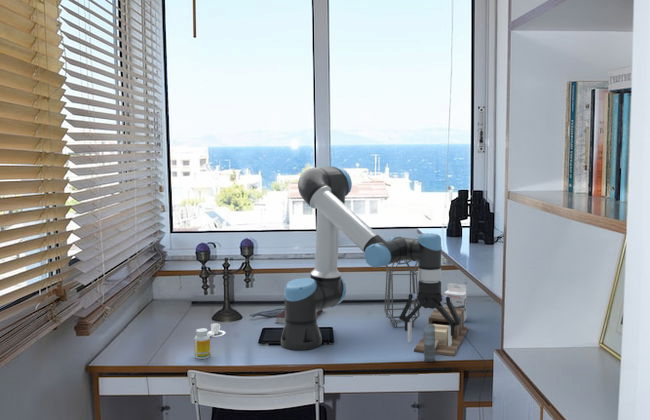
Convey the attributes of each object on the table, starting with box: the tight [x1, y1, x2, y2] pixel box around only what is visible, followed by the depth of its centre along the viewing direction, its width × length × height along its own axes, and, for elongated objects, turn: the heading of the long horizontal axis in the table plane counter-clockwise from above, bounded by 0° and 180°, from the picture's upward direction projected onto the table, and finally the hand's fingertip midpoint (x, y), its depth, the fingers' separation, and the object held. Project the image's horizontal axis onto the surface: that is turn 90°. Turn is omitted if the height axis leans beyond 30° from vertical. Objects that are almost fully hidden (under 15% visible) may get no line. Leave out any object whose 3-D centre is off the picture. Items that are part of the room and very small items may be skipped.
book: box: [275, 309, 324, 325], centre depth 257 cm, size 14×22×4 cm, turn 162°
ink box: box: [443, 282, 468, 322], centre depth 248 cm, size 8×5×15 cm, turn 61°
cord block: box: [423, 323, 448, 363], centre depth 211 cm, size 22×6×12 cm, turn 158°
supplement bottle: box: [193, 327, 211, 360], centre depth 210 cm, size 5×5×10 cm
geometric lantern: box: [384, 260, 420, 329], centre depth 242 cm, size 16×16×35 cm
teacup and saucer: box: [207, 322, 226, 338], centre depth 236 cm, size 9×8×4 cm
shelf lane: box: [413, 306, 469, 357], centre depth 224 cm, size 32×14×8 cm, turn 158°
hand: (429, 342), depth 202 cm, fingers open, 13 cm apart
